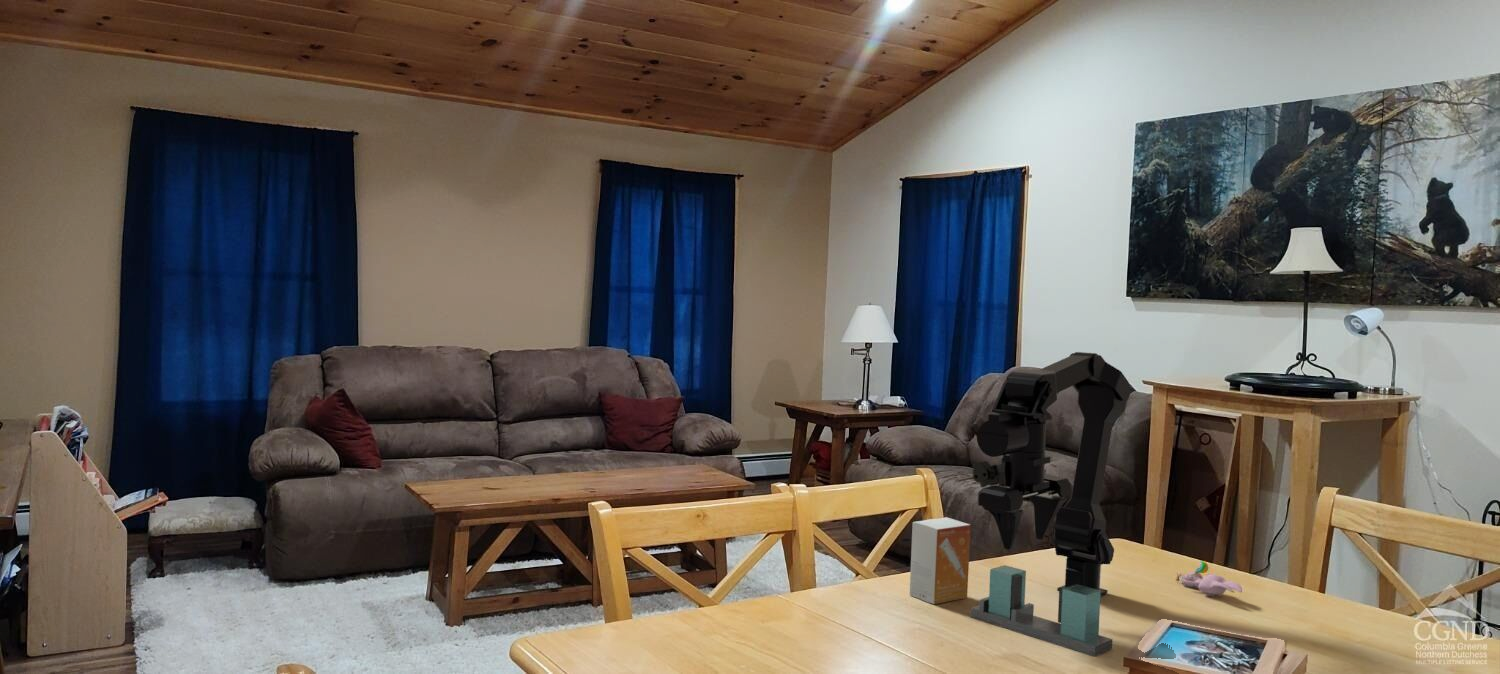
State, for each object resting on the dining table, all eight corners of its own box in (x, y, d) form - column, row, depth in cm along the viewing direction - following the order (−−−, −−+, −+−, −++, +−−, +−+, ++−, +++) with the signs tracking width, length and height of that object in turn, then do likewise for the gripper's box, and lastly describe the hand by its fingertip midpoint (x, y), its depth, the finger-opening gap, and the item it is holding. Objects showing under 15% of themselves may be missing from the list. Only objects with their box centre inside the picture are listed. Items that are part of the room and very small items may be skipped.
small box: (934, 605, 172) (937, 529, 171) (908, 595, 177) (911, 521, 176) (968, 598, 176) (971, 523, 175) (942, 588, 181) (945, 516, 181)
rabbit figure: (1168, 590, 189) (1222, 602, 174) (1166, 558, 190) (1220, 567, 175) (1198, 589, 190) (1254, 601, 176) (1196, 557, 191) (1252, 566, 176)
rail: (988, 611, 169) (990, 560, 169) (1112, 649, 153) (1114, 593, 153) (970, 617, 166) (972, 565, 166) (1094, 656, 150) (1097, 599, 149)
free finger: (1002, 607, 167) (1004, 565, 166) (1027, 614, 163) (1029, 571, 163) (988, 612, 164) (990, 569, 164) (1013, 619, 161) (1014, 575, 160)
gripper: (1016, 437, 178) (1014, 525, 179) (951, 448, 166) (948, 543, 167) (1074, 445, 170) (1071, 538, 171) (1010, 459, 157) (1007, 558, 158)
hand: (1024, 543), depth 167 cm, fingers open, 9 cm apart
